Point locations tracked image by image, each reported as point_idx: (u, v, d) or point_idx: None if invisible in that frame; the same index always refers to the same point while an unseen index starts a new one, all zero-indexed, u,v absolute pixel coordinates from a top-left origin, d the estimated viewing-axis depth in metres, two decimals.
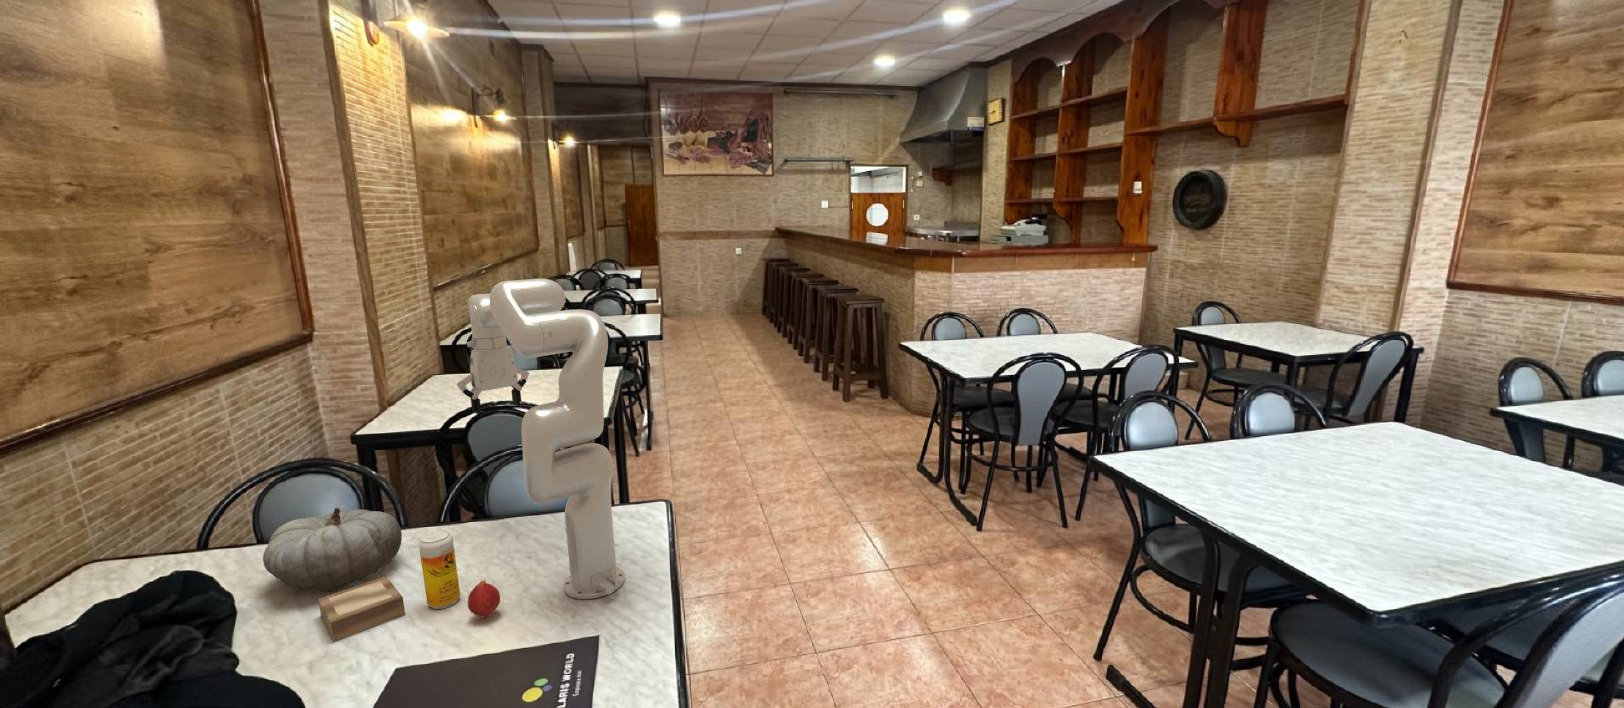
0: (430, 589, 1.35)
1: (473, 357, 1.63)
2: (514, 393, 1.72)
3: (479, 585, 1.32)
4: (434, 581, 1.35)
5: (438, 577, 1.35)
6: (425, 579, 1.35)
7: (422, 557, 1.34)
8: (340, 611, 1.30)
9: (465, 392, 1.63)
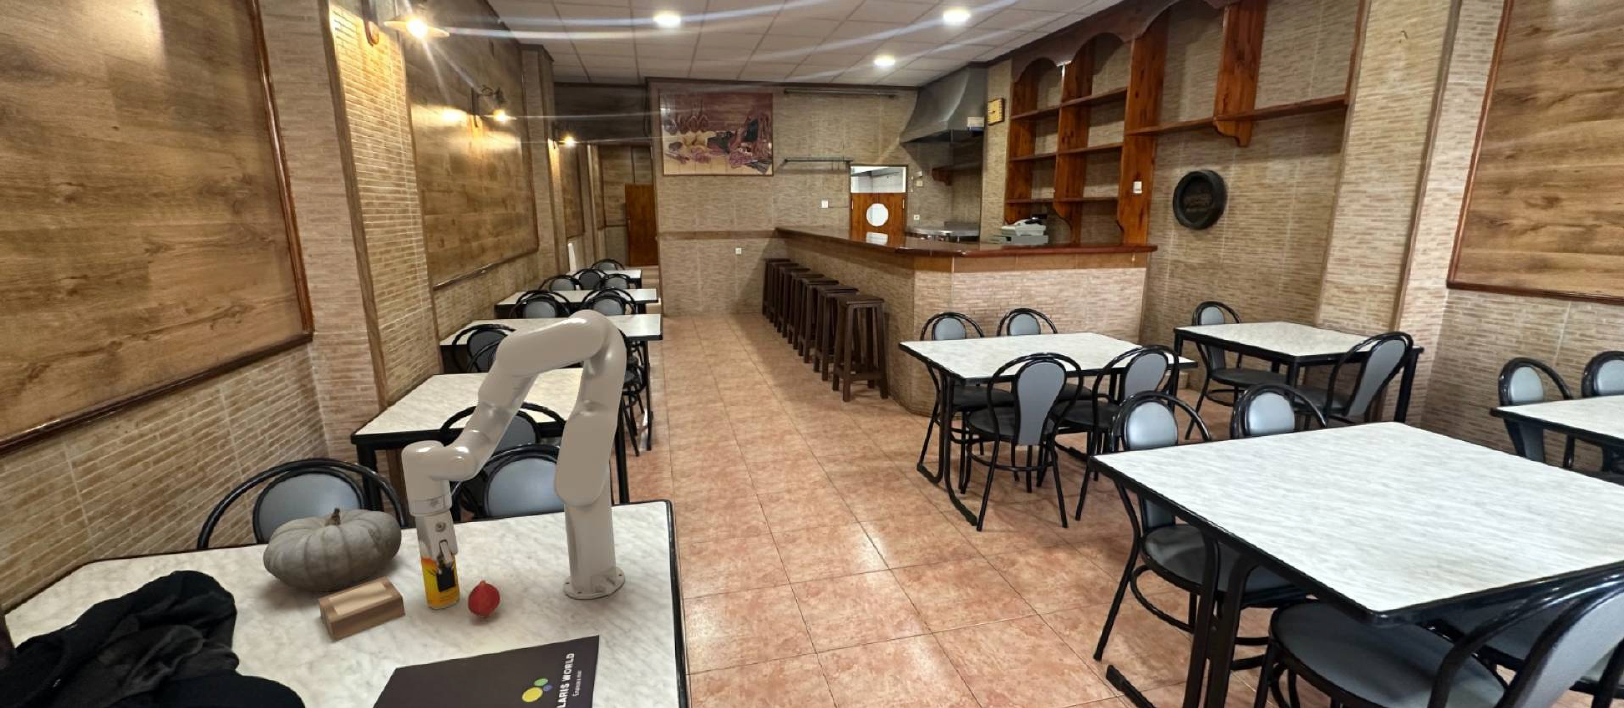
0: (430, 589, 1.35)
1: (445, 519, 1.33)
2: None
3: (479, 585, 1.32)
4: (433, 581, 1.35)
5: None
6: (425, 579, 1.35)
7: (422, 557, 1.34)
8: (340, 611, 1.30)
9: (452, 564, 1.34)
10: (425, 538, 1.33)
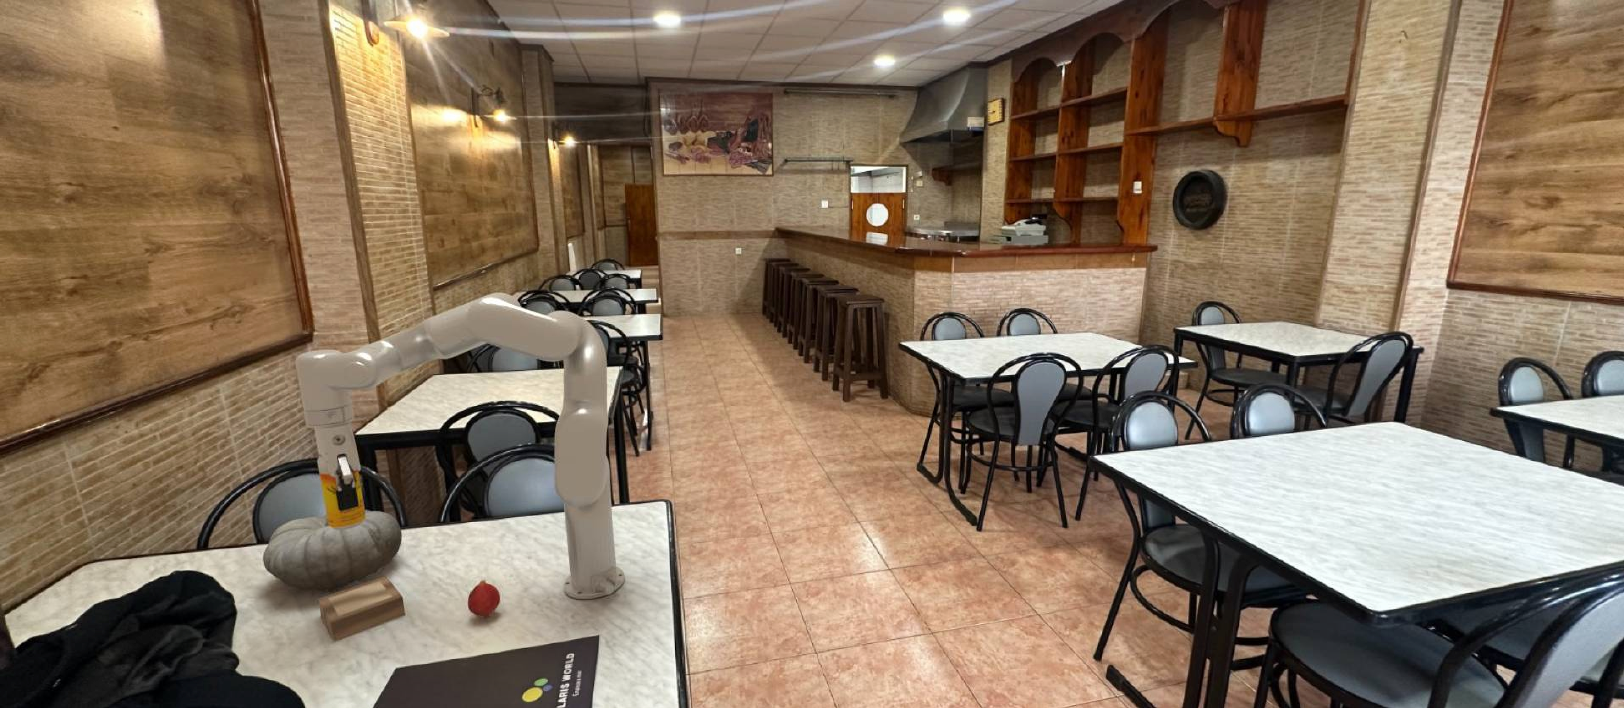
0: (330, 508, 1.27)
1: (344, 432, 1.25)
2: None
3: (479, 585, 1.32)
4: (333, 499, 1.27)
5: None
6: (324, 497, 1.27)
7: (320, 473, 1.26)
8: (340, 611, 1.30)
9: (352, 480, 1.25)
10: (323, 452, 1.24)
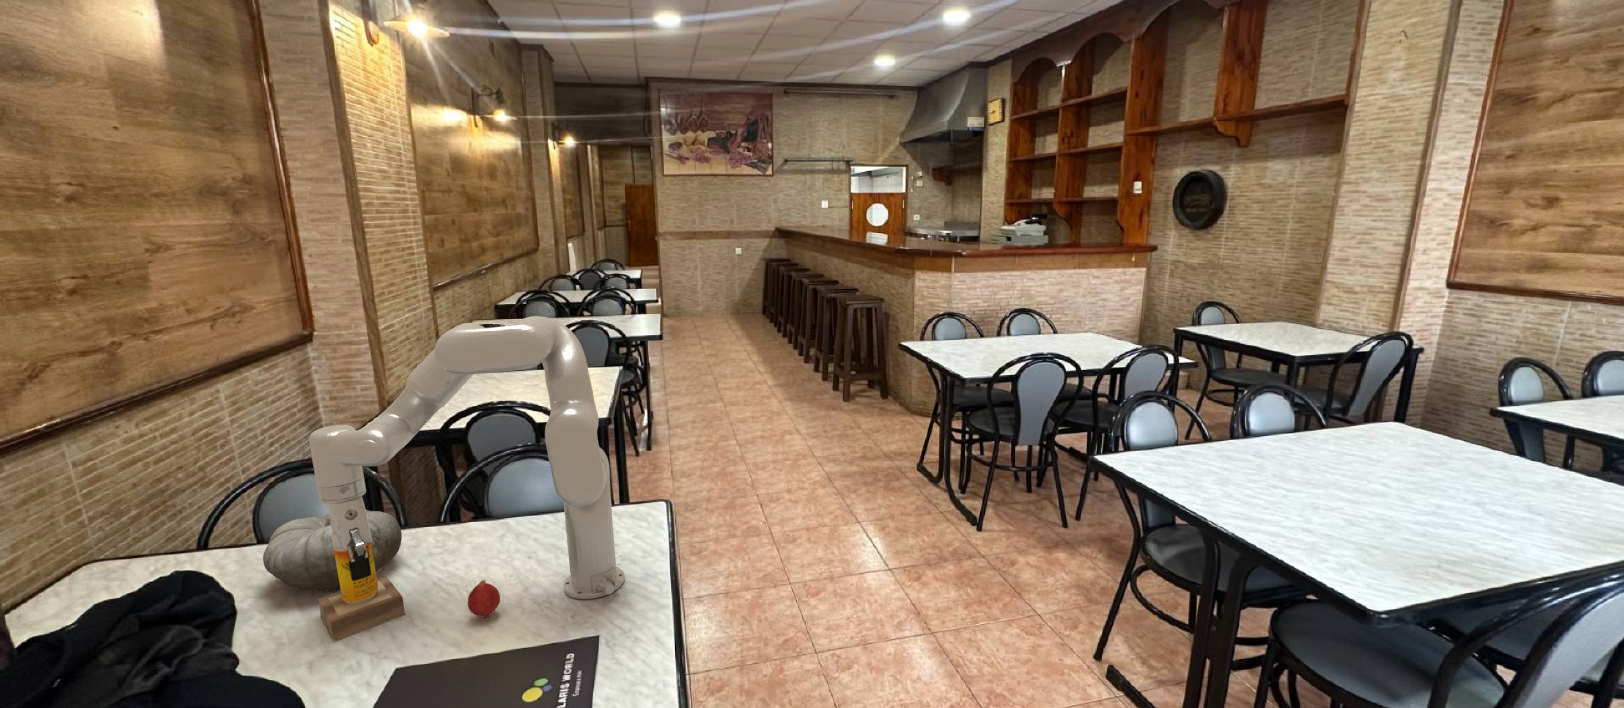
0: (344, 584, 1.30)
1: (356, 506, 1.28)
2: None
3: (479, 585, 1.32)
4: (347, 575, 1.30)
5: None
6: (339, 573, 1.30)
7: (335, 550, 1.29)
8: (340, 611, 1.30)
9: (365, 551, 1.27)
10: (335, 526, 1.27)
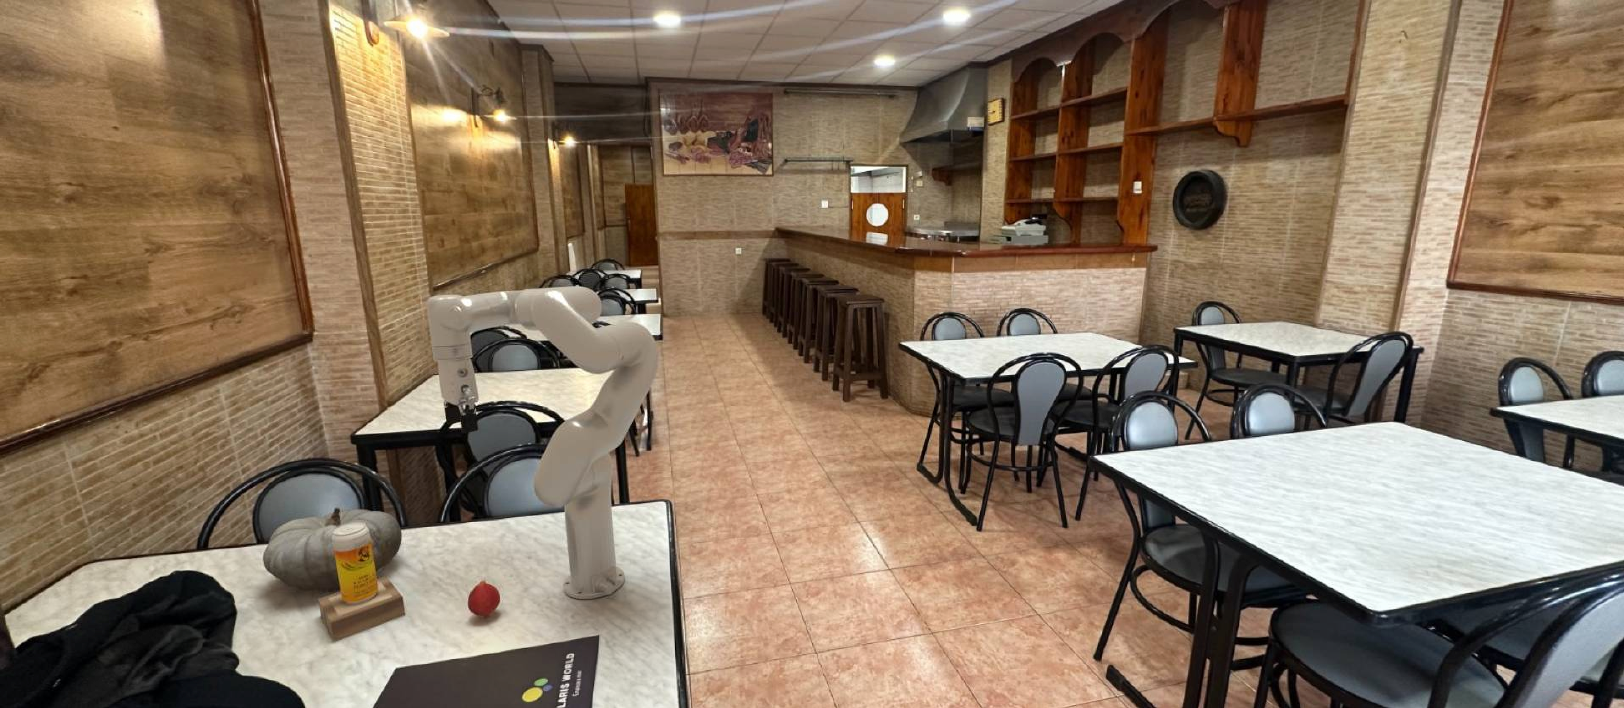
0: (344, 584, 1.30)
1: (467, 366, 1.43)
2: (455, 408, 1.51)
3: (479, 585, 1.32)
4: (347, 575, 1.30)
5: (352, 571, 1.30)
6: (339, 573, 1.30)
7: (335, 550, 1.29)
8: (340, 611, 1.30)
9: (475, 406, 1.42)
10: (448, 383, 1.42)
